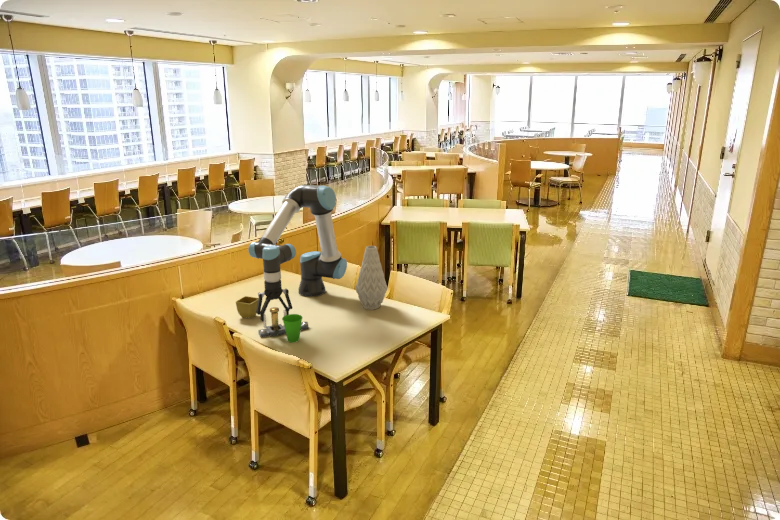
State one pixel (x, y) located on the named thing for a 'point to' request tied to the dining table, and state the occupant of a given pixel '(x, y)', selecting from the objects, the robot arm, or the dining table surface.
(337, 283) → the dining table surface
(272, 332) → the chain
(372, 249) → the vase
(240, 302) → the flower pot
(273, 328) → the brass pin
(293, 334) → the cup
